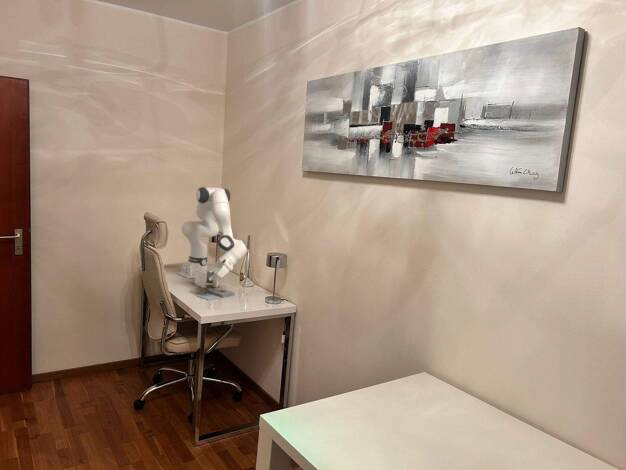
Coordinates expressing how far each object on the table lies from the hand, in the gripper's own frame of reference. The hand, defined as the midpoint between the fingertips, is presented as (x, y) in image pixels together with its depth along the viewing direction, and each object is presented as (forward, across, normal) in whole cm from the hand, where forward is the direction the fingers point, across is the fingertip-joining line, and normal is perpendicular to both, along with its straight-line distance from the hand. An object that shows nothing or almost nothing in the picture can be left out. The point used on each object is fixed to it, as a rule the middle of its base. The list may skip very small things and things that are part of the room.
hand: (208, 278), depth 287 cm
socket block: (+1, -6, +14) cm, 16 cm away
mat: (+8, 0, +8) cm, 11 cm away
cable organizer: (+5, -27, +11) cm, 29 cm away
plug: (+3, 0, +4) cm, 5 cm away
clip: (+4, -12, +7) cm, 15 cm away
